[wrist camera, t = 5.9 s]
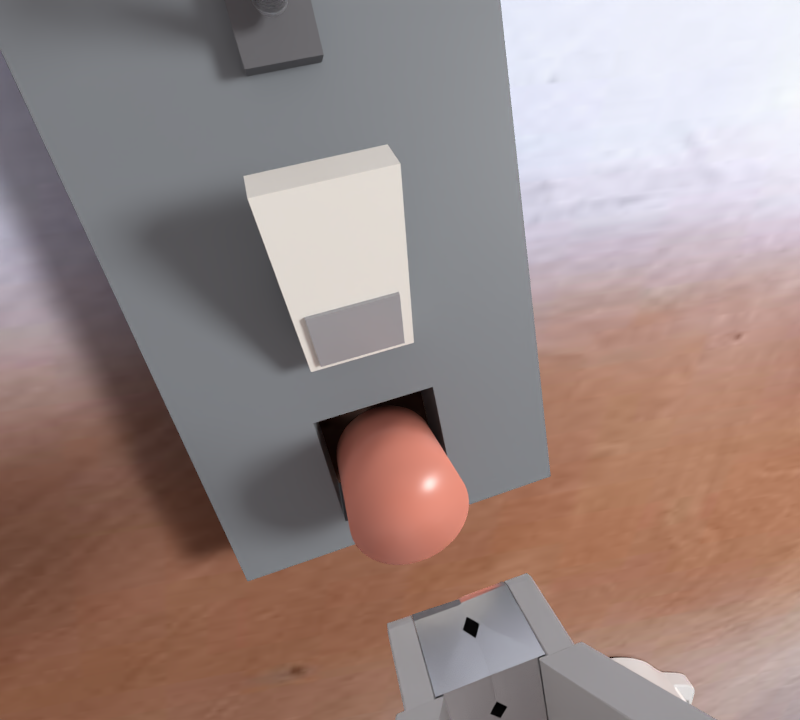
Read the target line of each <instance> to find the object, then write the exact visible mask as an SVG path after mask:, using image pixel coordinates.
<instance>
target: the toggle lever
mask: <svg viewBox="0 0 800 720" xmlns="http://www.w3.org/2000/svg"><path fill="white" fill-rule="evenodd" d="M252 3H253V5H254V6H255V8H256V9H257V10H258V11H259V12H260V13H261V14H263V15H264V16H267V17H271V18H272V17H278V16H279V15H281V14H282V13H283V12H284V10H285V9H286V6H287V3H288V0H252Z"/></svg>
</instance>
